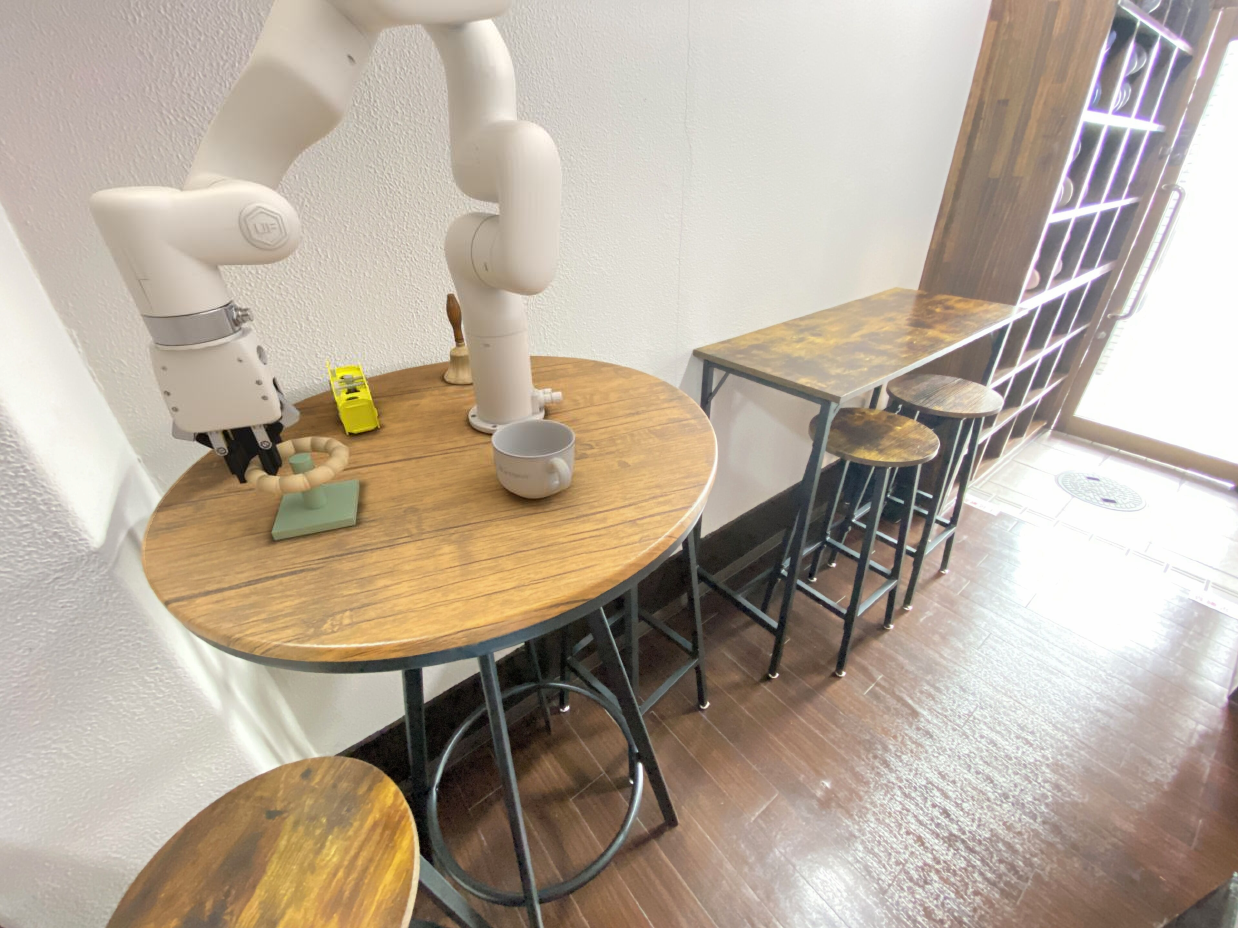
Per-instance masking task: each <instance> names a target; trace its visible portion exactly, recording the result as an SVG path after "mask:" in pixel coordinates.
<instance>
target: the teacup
mask: <svg viewBox="0 0 1238 928" xmlns="http://www.w3.org/2000/svg"><path fill="white" fill-rule="evenodd" d="M490 442H491V446H492V452H493V453H492V455H493V461H494V468H495V472H496V473H495V474H496V477H497V480H498V481H499V482H500V484H501V485H502V487H504V488H505V489H506V490H508V491H509V492H511V493H513V494H515V495H517V496H519V497H521V498H525V499H535V500H536V499H544V498H546V497H551V496H552V495H555V494H558V493H559V492H562V491H564V490H566V489H567V488H569V487H570V485H571V482H572V481H571V480H572V479H571V478H572V476H573V473H574V467H575V442H576V434H575V432H574V430H573V429H572V428H571V427H569V426H568V425H566V424H564V423H562V422H559V421H555V420H551V419H545V418H543V419H531V420H521V421H516V422H513V423H509V424H506V425H504V426H502V427H501V428H499V429H498V430H496V431H495V433H494V434H491V438H490Z"/></svg>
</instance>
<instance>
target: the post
mask: <svg viewBox="0 0 1238 928" xmlns="http://www.w3.org/2000/svg"><path fill="white" fill-rule="evenodd" d="M288 464H289V466H290V468H291V471H292V475H297V474H303V473H305V472H308V471H310V470H312V469H315V468H316V466H315V463H314V461H313V459H312V454H310V453H299V454H296V455H293V456H291V457H289V458H288ZM359 493H360V482H359V479H358V478H354V479H348V480H342V481H336V482H331V483H324V484H322V485H319V486H317V487H315V488H312V489H310V490H306V491H300V492H295V493H289V494H282V497H281V501H280V505H279V507H278V511H277V514H276V518H275V520H274V523H273V527H272V529H271V536H272V538H273V540H274V541H279V540H284V539H291V538H296V537H300V536H306V535H311V534H316V533H320V532H325V531H326V532H327V531H332V530H336V529H342V528H347V527H352V526H356V521H357V512H358V506H359V505H358V504H359V497H360V496H359V495H360V494H359Z"/></svg>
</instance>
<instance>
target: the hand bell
mask: <svg viewBox="0 0 1238 928" xmlns="http://www.w3.org/2000/svg"><path fill="white" fill-rule="evenodd" d="M445 311H446V316H447V320H448V321H449V323H450V326H451V328H452V331H453V338H454V342H455V346H454V347H453V348H451V349H450V350H449V366H448V369H447V371H445V373H444V376H443V379H444V381H445V382H447V383H448V384H450V385H451V384H452V385H458V386H459V385H460V386H461V385H464V386H465V385H471V384H473V382H472V376H471V369H470V363H469V357H468V351H467V345H466V341H465V339H464V338H465V337H464V334H463V330H462V324H463V320H462V314H461V309H460V304H459V300H458V298H456V296H455V294H454V293H447V294H446V303H445Z"/></svg>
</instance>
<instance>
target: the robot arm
mask: <svg viewBox="0 0 1238 928" xmlns="http://www.w3.org/2000/svg"><path fill="white" fill-rule="evenodd" d="M516 1H517V0H274V1H273V4H272V6H271V8H270V10H269V13H268V15H267V17H266V20H265V23H264V25H263V27H262V29H261V32H260V34H259V36H258V39H257V41H256V43H255V46H254V48H253V50H252V52H251V54H250V57H249V59H248V60H247V62H246V64H245V65H244V67H243V68H242V70H241V71H240V73H239V74H238V76H237V78H236V79H235V81H234V83H233V85H232V87H231V88H230V90H229V92H228V94H227V96H226V97H225V99H224V100H223V102H222V103H221V105H220V107H219V108H218V110H217V112H216V114H215V115H214V117H213V118H212V120H211V121H210V124H209V125H208V126H207V130H206V131H205V133H204V135H203V138H202V139H201V142H200V145H199V147H198V149H197V151H196V154H195V156H194V159H193V162H192V164H191V167H190V169H189V171H188V173H187V176H186V179H185V182H184V184H183V186H182V187H183V188H182V190H180V189H178V188H175V187H170V186H162V185H139V186H138V185H137V186H122V187H113V188H107V189H101V190H98V191H97V192H93V194H92V195H90V197H89V200H88V207H89V211H90V214H91V216H92V218H93V221H94V223H95V225H96V227H97V229H98V231H99V232H100V235H101V237H102V239H103V241H104V243H105V245H106V248H107V249H108V251H109V254H110V255H111V257H112V260H113V261H114V264H115V266H116V267H117V270H118V272H119V274H120V276H121V277H122V279H123V280H122V281H123V282H124V284H125V286H126V288H127V290H128V293H129V294H130V296H131V298H132V301H133V302H134V304H135V306H136V309H137V310H138V312H139V315H140V317H141V319H142V321H143V323H144V326H145V327H146V330H147V331H148V333H149V335H150V337H151V339H152V340H151V341H150V343H149V344H148V345H147V346H148V352H149V356H150V361H151V365H152V369H153V373H154V376H155V380H156V383H157V386H158V388H159V391H160V393H161V396H162V399H163V401H164V403H165V405H166V408H167V410H168V412H169V414H170V417H171V418H172V424H171V427H172V428H171V436H172V437H173V438H174V439H177V440H181V441H188V442H196V443H198V444H200V445H202V446H204V447H207V448H209V449H211V450H213V451H214V452H215V454H216V455H219V456H221V457H223V459H224V461H225V463H226V465H227V467H228V469H229V472H230V474H231V475H232V476H236V478H237V480H238V483H239V484H240V485H243V484H247V483H248V482H247V481H246V479H245V472H246V470H247V467H248V465H249V459H248V457H247V455H246V453H245V450H244V448H243V446H242V444H240V443H239V442H236V441H235V440H234V438H233V436H232V433H231V431H230V429H234V428H241V427H248V426H251V429H252V431H253V433H254V435H255V437H256V439H257V441H258V446H259V448H258V450H257V454H258V457H259V459H260V461H261V464H262V466H263V468H264V471H265V472H266V473H267V474H268V475H271V476H278V474H279V473H278V472H279V470H280V468H282V467H283V460H282V459H281V456H280V454H279V452H278V449H277V447H276V444H275V442H274V441H275V440H276V439H277V437H278V436H279V435H280V436H281V434H282V432H283V431H284V430H286V429H289V428H290V427H293V426H294V425H296V424H297V423H298V422H299V421H300V419H301V416H302V414H301V412H300V411H299V410H298V409H297V408H296V407H295V406H294V405H293V404H292V403H291V402H290V401H289V400H288V398H287V393H286V391H285V389H284V386H283V384H282V381H281V379H280V377H279V375H278V373H277V371H276V369H275V367H274V365H273V363H272V360H271V359H270V357H269V355H268V352H267V351H266V349H265V348H264V346H263V344H262V342H261V341H260V339H259V337H258V336H257V334H256V333H255V331H254V330H253V328H251V327H249V326H244V324H246V323H248V322H254V321H255V318H254V313H253V311H252V309H251V308H250V307H244V308H243V307H239V306H238V305H237V304H236V303H235V301H234V300H233V299H232V298H231V296H230V293H229V291H228V289H227V286H226V283H225V281H224V278H223V275H222V273H221V270H220V268H219V266H259V265H270V264H271V265H272V264H275V263H278V262H281V261H284V260H285V259H287V258H289V257H290V256H291V255H293V253H295V251H296V250H297V249H298V247H299V245H300V243H301V239H302V225H301V220H300V218H299V215H298V214H297V211H296V210H295V209H294V206H292V205H291V203H290V202H289V201H288V200H287V199H286V198H284V196H282V195H281V194H280V193H278V192H277V190H278V187H279V185H280V183H281V181H282V179H283V178H284V176H285V174H286V173H287V171H288V170H289V168H291V166H292V164H293V163H294V162H295V160H297V158H298V157H299V156H300V155H301V154H302V153H303V152H305V151H306V150H307V149H308V148H310V147H311V146H312V145H314V144H317V142H319V141H321V140H323V139H324V138H325V137H327V136H328V135H329V134H330V133H332V132H333V131H334V130H335V129H336V128H337V127H338V126H339V125H340V124H341V123H342V122H343V121H344V119H345V117H346V116H347V113H348V110H349V108H350V106H351V103H352V101H353V98H354V96H355V94H356V91H357V88H358V86H359V85H360V84H359V83H360V82H361V80H362V77H363V75H364V72H365V70H366V67H367V65H368V62H369V60H370V58H371V56H372V54H373V51H374V49H375V46H376V43H377V42H378V40H379V37H380V35H381V33H382V32H383V31H384V30H386V29H387V30H388V29H392V28H397V27H404V26H416V25H420V26H421V28H422V29H423V30H424V31H425V32H426V33H427V35H428V36H429V38H430V40H431V41H432V42H433V44H434V46H435V49H436V50H437V52H438V54H439V57H440V59H441V62H442V66H443V68H444V73H445V80H446V91H447V103H448V106H447V107H448V131H449V133H448V134H449V155H450V156H449V157H450V169H451V174H452V178H453V181H454V183H455V185H456V187H457V188H458V189H459V190H460V192H462V194H463V195H465V196H466V197H469V198H471V199H473V200H476V201H480V202H486V203H491V204H498V212H499V213H490V212H485V211H484V212H483V211H473V212H472V211H471V212H467V213H464V214H461V215H460V216H458V217H456V218H455V219H454V220H452V222H451V223H450V225H449V226H448V228H447V230H446V233H445V236H444V243H443V248H444V257H445V262H446V265H447V268H448V272H449V274H450V277H451V280H452V283H453V285H454V288H455V293H456V296H457V301H458V303H459V305H460V309H461V314H462V325H463V332H464V338H465V339H464V340H465V345H466V346H467V351H468V357H469V363H470V369H471V376H472V382H473V383H472V386H473V393H474V399H475V405H474V406H472V407H471V409H470V410H469V412H468V417H467V418H468V421H469V424H470V426H471V427H472V428H474V429H475V430H477V431H479V432H482V433H486V434H491V435H493V434H494V433H495V431H496V430H498V429H499V428H501V427H502V426H504V425H506V424H509V423H513V422H516V421H521V420H531V419H545V415H546V413H545V406H546V405H555V404H563V401H564V399H563V394H562V391H552V388H551V387H547V388H543V389H538V388H535V386H534V384H533V374H532V373H533V372H532V363H531V355H530V354H531V353H530V344H529V333H528V323H527V322H528V321H527V312H526V307H525V303H524V300H523V297H522V296H526V297H527V296H529V297H530V296H536V295H538V294H541V293H543V292H544V291H545V290H546V289H547V288H548V287H549V286H550V285H551V283H552V282H553V281H554V278H555V276H556V273H557V269H558V264H559V259H560V245H561V227H562V224H561V223H562V203H563V202H562V200H563V169H562V163H561V159H560V158H561V157H560V154H559V152H558V151H559V150H558V149H557V145H556V144H555V142H554V140H553V138H552V137H551V136H550V134H549V133H548V132H547V131H546V130H545V129H544V128H543V127H542V126H540V125H538V124H537V123H535V122H531V121H530V120H526V119H525V120H524V119H518V109H517V85H516V74H515V69H514V65H513V61H512V57H511V54H510V52H509V50H508V47H507V45H506V42H505V41H504V39H503V37H502V35H501V33H500V31H499V30H498V28H497V26H496V24H495V23H494V21H493V19H494V20H495V19H497V18H500V17H502V16H504V15H505V14H507V13H508V12H509V10H511V9H512V8H513V6H514V4H515V3H516ZM243 326H244V327H243Z"/></svg>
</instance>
